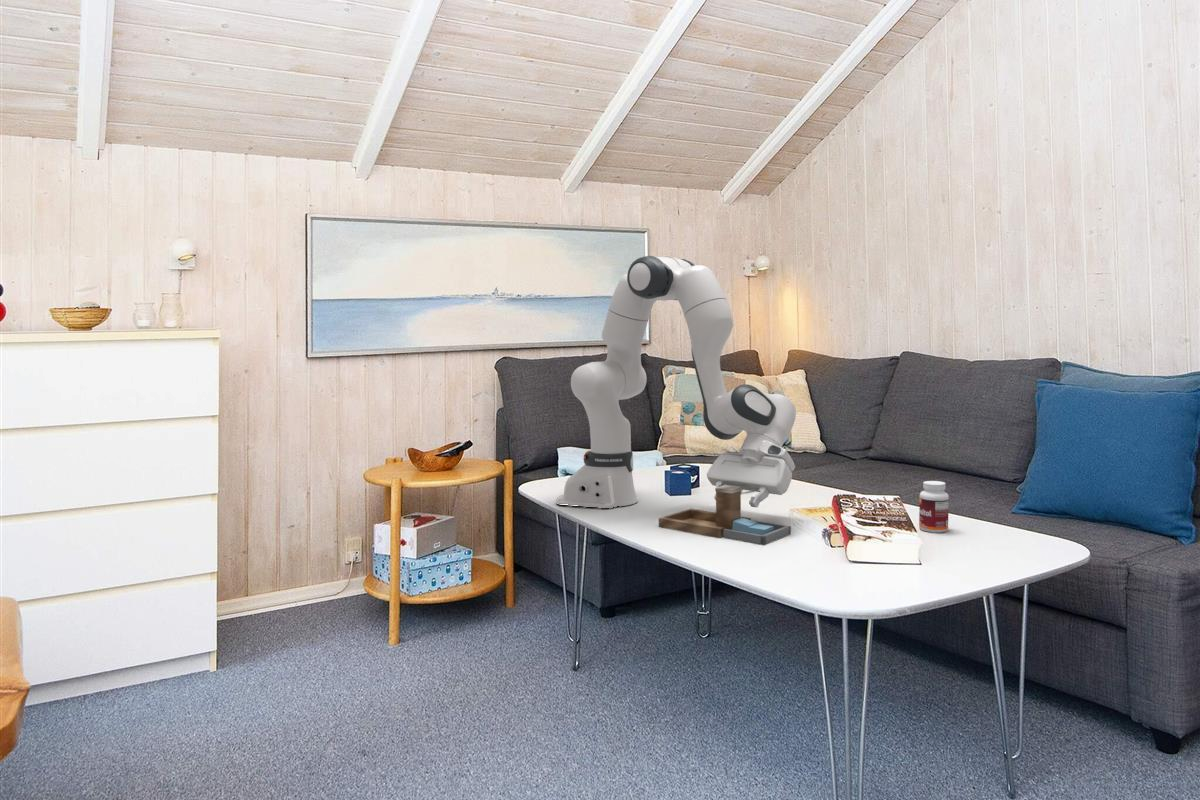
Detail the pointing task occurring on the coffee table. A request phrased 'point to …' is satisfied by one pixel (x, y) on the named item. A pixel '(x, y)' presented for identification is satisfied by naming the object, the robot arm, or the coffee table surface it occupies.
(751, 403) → the robot arm
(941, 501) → the pill bottle
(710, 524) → the slot board
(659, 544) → the coffee table surface
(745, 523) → the pale blue block
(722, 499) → the block
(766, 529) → the light blue block
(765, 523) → the tray
